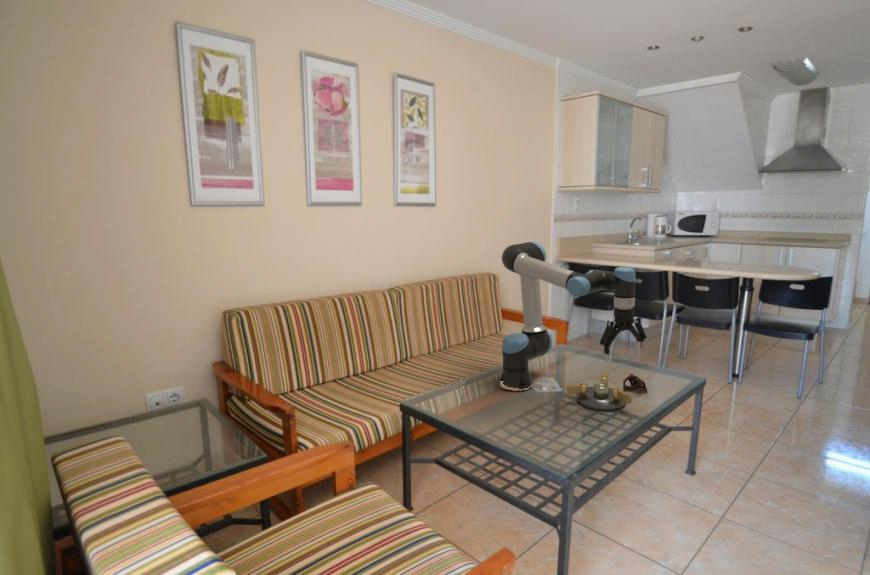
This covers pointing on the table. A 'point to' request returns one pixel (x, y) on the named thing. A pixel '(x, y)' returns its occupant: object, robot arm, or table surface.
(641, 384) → the brown animal skull
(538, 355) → the robot arm
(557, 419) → the table surface
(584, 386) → the knob
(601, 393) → the tribrach
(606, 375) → the knob
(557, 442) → the table surface
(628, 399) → the knob
